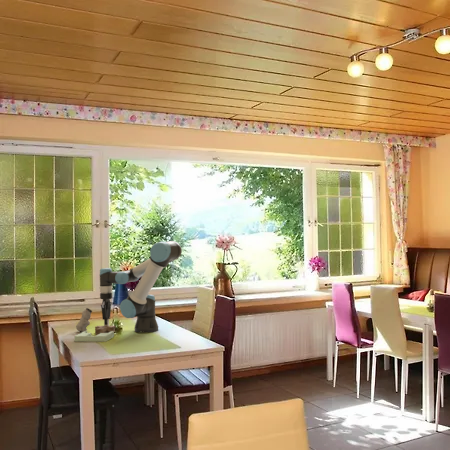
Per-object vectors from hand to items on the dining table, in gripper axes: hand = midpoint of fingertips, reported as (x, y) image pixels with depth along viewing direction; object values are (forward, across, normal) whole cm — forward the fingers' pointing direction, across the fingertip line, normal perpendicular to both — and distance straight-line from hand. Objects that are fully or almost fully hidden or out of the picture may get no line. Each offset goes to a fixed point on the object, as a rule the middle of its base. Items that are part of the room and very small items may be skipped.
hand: (106, 329), depth 337 cm
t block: (+2, +7, 0) cm, 7 cm away
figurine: (+2, 0, -15) cm, 15 cm away
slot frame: (+1, +21, +1) cm, 21 cm away
